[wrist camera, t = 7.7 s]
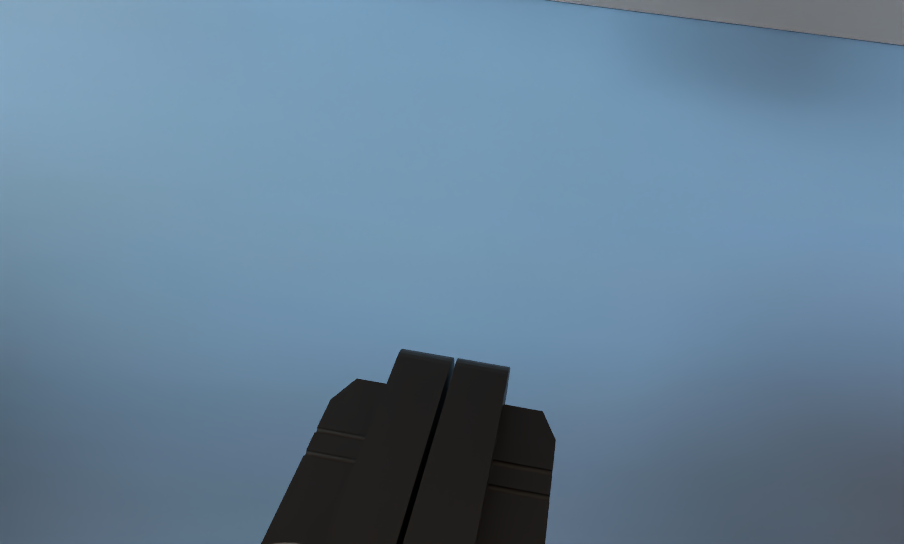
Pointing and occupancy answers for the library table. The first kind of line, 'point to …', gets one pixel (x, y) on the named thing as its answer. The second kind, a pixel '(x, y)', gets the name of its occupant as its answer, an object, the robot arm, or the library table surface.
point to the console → (785, 15)
